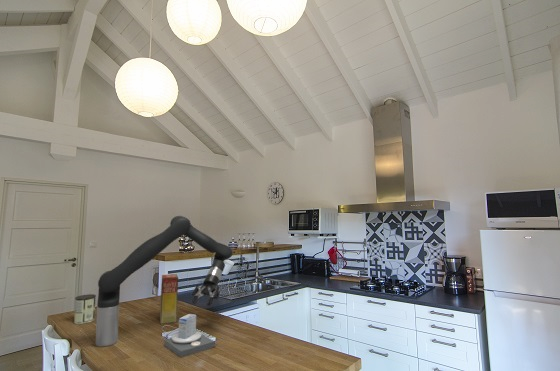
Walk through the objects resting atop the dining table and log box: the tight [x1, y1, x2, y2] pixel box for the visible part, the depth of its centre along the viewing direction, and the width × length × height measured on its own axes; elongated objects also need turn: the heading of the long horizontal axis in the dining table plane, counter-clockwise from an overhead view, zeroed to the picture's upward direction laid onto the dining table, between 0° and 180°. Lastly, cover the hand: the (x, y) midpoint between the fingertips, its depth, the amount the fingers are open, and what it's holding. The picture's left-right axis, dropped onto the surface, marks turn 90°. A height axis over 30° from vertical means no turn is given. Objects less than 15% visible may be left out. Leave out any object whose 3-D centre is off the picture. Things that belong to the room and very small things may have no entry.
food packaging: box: [159, 273, 179, 325], centre depth 185 cm, size 13×9×25 cm
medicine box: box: [178, 313, 197, 339], centre depth 146 cm, size 8×4×9 cm, turn 162°
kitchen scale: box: [163, 330, 216, 358], centre depth 143 cm, size 18×16×4 cm
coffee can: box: [73, 293, 97, 325], centre depth 183 cm, size 10×10×14 cm
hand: (200, 304), depth 158 cm, fingers open, 8 cm apart
